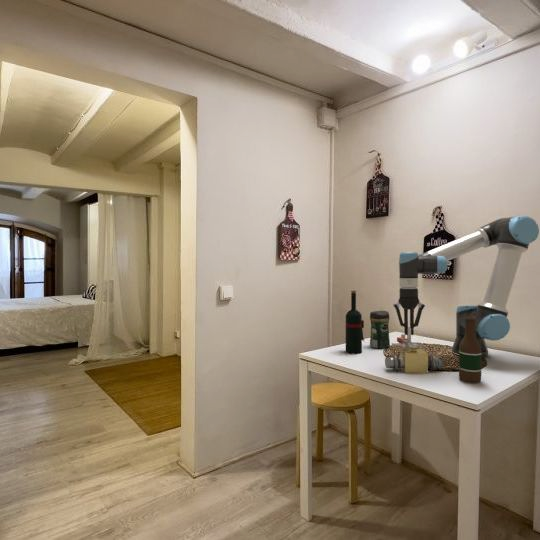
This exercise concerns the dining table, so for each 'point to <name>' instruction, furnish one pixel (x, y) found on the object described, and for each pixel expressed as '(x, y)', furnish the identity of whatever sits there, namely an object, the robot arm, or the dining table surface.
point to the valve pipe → (413, 361)
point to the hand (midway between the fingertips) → (409, 342)
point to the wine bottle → (354, 328)
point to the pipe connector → (400, 344)
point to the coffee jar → (379, 329)
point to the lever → (408, 343)
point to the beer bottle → (470, 354)
